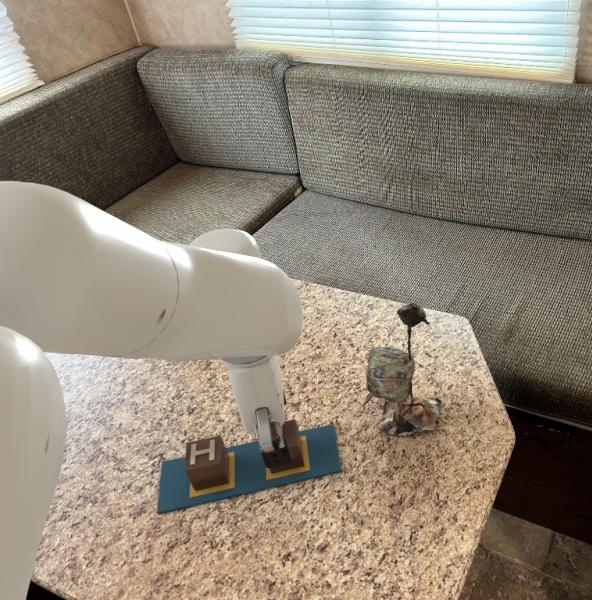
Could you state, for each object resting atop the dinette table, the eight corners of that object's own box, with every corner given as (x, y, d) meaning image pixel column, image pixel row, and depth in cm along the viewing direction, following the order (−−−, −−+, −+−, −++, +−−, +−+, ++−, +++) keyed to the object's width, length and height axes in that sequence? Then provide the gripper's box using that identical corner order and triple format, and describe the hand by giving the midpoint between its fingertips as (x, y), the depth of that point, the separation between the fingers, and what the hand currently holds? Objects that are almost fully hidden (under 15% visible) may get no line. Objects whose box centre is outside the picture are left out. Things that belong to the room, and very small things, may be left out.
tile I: (304, 466, 81) (298, 444, 78) (271, 474, 81) (263, 452, 77) (301, 439, 84) (295, 417, 81) (269, 446, 84) (261, 425, 81)
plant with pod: (376, 387, 92) (360, 284, 79) (449, 402, 88) (445, 296, 75) (356, 429, 86) (336, 325, 73) (433, 446, 83) (426, 341, 70)
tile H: (229, 483, 80) (219, 462, 77) (194, 491, 79) (183, 470, 76) (229, 455, 83) (220, 434, 80) (196, 463, 83) (185, 441, 80)
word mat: (342, 471, 81) (341, 469, 80) (157, 514, 78) (156, 512, 77) (334, 425, 87) (333, 423, 86) (162, 463, 84) (161, 461, 83)
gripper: (214, 295, 74) (246, 392, 84) (210, 398, 60) (249, 497, 71) (275, 284, 75) (300, 381, 85) (285, 382, 61) (312, 482, 72)
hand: (277, 433), depth 78 cm, fingers open, 9 cm apart
